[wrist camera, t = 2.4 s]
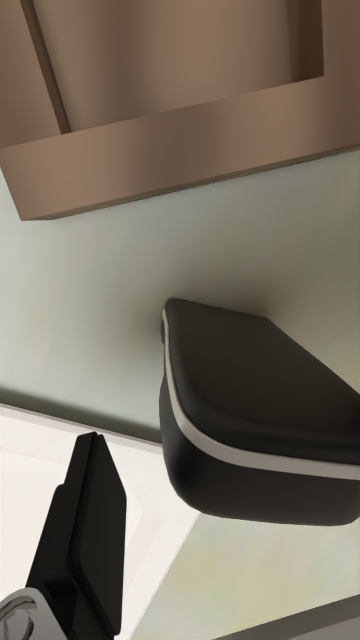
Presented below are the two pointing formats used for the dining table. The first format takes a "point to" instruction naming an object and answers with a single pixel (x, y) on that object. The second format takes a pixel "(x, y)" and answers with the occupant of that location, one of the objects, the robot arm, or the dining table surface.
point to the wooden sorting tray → (168, 95)
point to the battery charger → (255, 421)
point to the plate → (50, 471)
